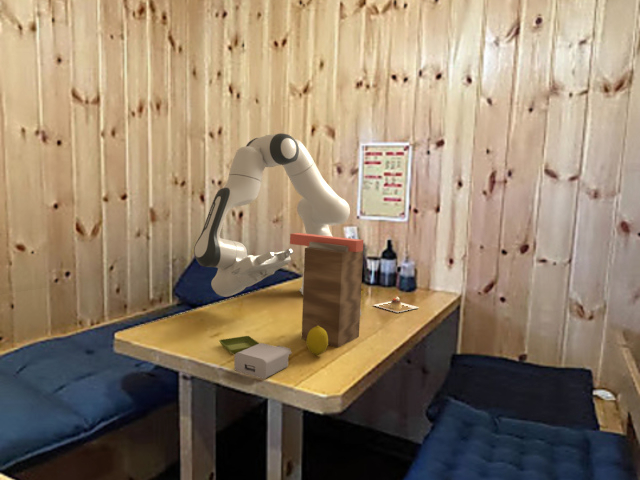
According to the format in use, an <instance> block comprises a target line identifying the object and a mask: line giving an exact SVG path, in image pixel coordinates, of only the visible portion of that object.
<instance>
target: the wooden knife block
mask: <svg viewBox="0 0 640 480" xmlns="http://www.w3.org/2000/svg"><path fill="white" fill-rule="evenodd" d="M303 259H304V262H303V263H304V265H303V273H304V285H303V295H302V317H301V318H302V320H301V340H306V341H307V335H308V333H309V331H310V330H311V329H312V328H314V327H316V326H320V327H321V328H323V329H324V330H325V331H326V332H327V335H328V346H329V347H330V346H331V347H333V348H341V347H342V346H344V345H346V344H348V343H350V342H352V341H353V340H355V339H357V338H359V337H360V321H361V316H360V307H361V302H362V301H361V299H362V281H363V259H364V250H363V251H359V252H351V251H348V246H344V245H335V244H327V243H318V242H309V247H308V248H307V247H305V248H304V258H303Z"/></svg>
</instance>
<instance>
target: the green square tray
mask: <svg viewBox="0 0 640 480" xmlns="http://www.w3.org/2000/svg"><path fill="white" fill-rule="evenodd" d="M218 341H219V343H220V345H222V347H223V348H224V349H226V350H227V351H228V352H229V353H231V355H235V354H236V353H238V352H240V351H243V350H245V349H248V348H250V347H252V346H255V345H257V344H259V343H260V342H258V341H257V340H255V339H254V338H253V337H252V336H250V335H244V336H243V335H242V336H237V337H230V338H223V339H219V340H218Z"/></svg>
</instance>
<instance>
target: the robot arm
mask: <svg viewBox="0 0 640 480" xmlns="http://www.w3.org/2000/svg"><path fill="white" fill-rule="evenodd" d="M277 166H282V167H283V168H284V172H285V173H286V175H287V176H288V179H289V180H290V182H291V183H292V186H293V188H294V190H295V191H296V193H298V195H299V196H301V197H302V198H300V200H299V201H298V203H297V206H296V212H297V215H298V217H299V218H300V219H301V221H302V223H303V227H304V230H305V234H314V235H323V236H332V237H334V236H333V234H332V232H331V230H330V226H338V225H343V224H345V223H346V222H347V221H348V220H349V217H350V215H351V214H350V213H351V209H350V208H351V207H350V205H349V203H348V202H347V201H346V199H344V198H342V197H340V196H339V195H338V194H337V192H336V191H335V190H333V188H332V187H331V186H330V185H329V184H328V182H326V180H325V179H324V177H323V176H322V174H321V172H320V170H319V168H318V166H317V164H316V162H315V161H314V159H313V156H311V154H310V152H309V150H308V149H307V147H306V146H305V145H304V144H303V143H302V141H301V140H299V139H297V138H294V137H292V136H291V135H290V134H287V133H281V132H280V133H277V134H276V133H275V134H274V133H273V134H272V133H271V134H266V135H264V136H260V137H256V138H253V139H251V140H250V141H248V142H247V144H246V145H245V146H241V147H239V148H238V149H237V150H236V152H235V153H234V156H233V158H232V162H231V165H230V168H229V173H228V178H227V181H226V183H225V184H224V186H223V187H221V188H220V189H218V191H217V192H216V194H215V196H214V198H213V200H212V203H211V205H210V209H209V210H208V214H207V217H206V219H205V222H204V224H203V225H204V226H203V228H202V231H201V233H200V235H199V237H198V239H197V241H196V242H195V245H194V248H193V255H194V258H195V260H196V261H197V262H198V264H199V266H202V267H206V268H217V271H216V273H215V276H214V277H213V278H212V280H211V282H210V283H211V285H210V286H211V288H212V290H213V291H214V292H215V293H216V294H217V295H218V296H220V297H225V298H228V297H232V296H233V295H236V294H238V293H241V292H242V291H244V290H245V289H246V288H249V287H252V286H253V285H255V284H257V283H259V282H261V281H262V280H264V279H266V278H268V277H270V276H272V275H274V274H275V272H276V271H278V270H280V269H281V268H284V266H286V265H288V264H289V263H290V262H291V260H292V258H291V256H292V255H293V254H294V250H293V248H288V249H285V250H283V251H282V250H281V251H276V252H273V251H268V252H266V253H264V254H259V255H253V254H249V252H248V249H247V247H246V245H245V244H244V243H242V242H240V241H236V240H231V239H227V238H222V237H221V236H220V234H221V231H222V228H223V226H224V222H225V220H226V216H227V214H228V213H229V211H231V209H233V208H235V207H241V206H247V205H249V204H251V203H252V202H254V201H255V200H256V199H257V198H258V196H259V193H260V191H261V185H262V181H263V180H262V179H263V175H264V174H263V173H264V171H265V169H266V168H274V167H277ZM308 247H309V246H306V248H308ZM302 274H303V275H302V280H301V281H302V282H301V287H299V292H300V293H301V295H302V296H303V285H304V272H303V273H302Z"/></svg>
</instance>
